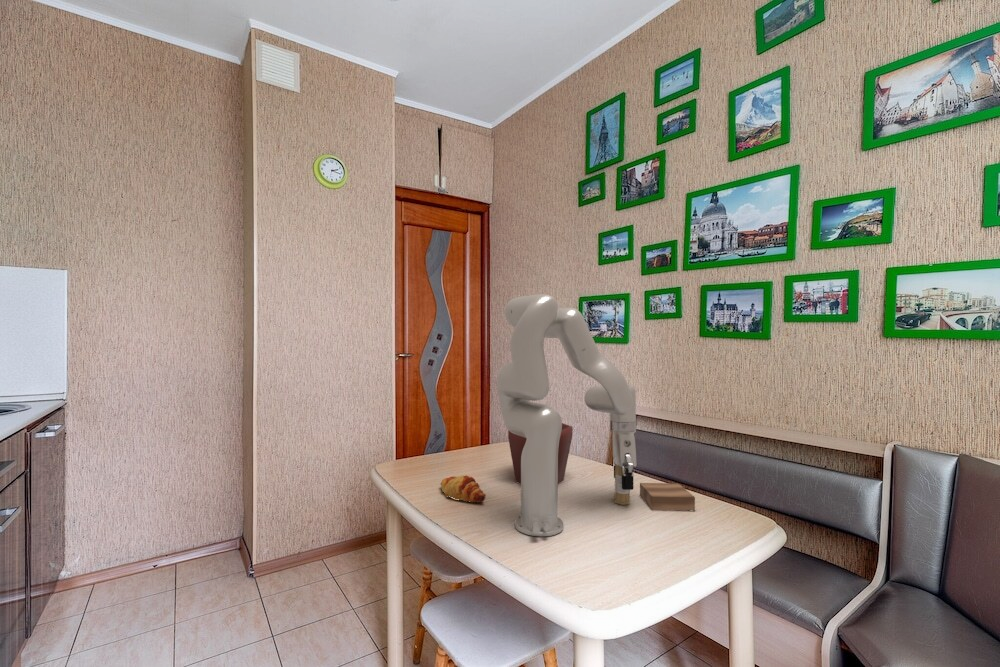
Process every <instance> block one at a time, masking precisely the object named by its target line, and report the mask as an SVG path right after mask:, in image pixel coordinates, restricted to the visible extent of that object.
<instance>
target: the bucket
mask: <svg viewBox="0 0 1000 667" xmlns="http://www.w3.org/2000/svg"><path fill="white" fill-rule="evenodd" d="M573 428H574V427H573V426H572V425H569V424H567V423H563V422H562V430H561V435H560V440H559V447H558V485H560V483H562V482H564V479H565V474H566V469H567V464H568V459H569V455H570V449H571V444H572V439H573V434H574V433H573ZM507 430H508V429H507ZM507 432H508V433H507V434H508V435H507V436H508V437H507V438H508V444H509V449H510V456H511V462H512V468H513V472H514V479H515V483H516V482H519V483H521V455H522V451H523V448H524V446H525V443H526V440H527V438H525V437H522V436H519V435H516V434H513V433H511V432H510V431H509V430H508V431H507ZM519 483H518V484H519Z"/></svg>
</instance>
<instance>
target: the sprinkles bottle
mask: <svg viewBox="0 0 1000 667" xmlns="http://www.w3.org/2000/svg"><path fill="white" fill-rule="evenodd" d="M623 465H627V464H623ZM625 471H626V468H625ZM622 475H623V472H622V467H620V466H619V465H618V463H617V459H616V458H615V478H614V502H615V504H618V505H621V506H622V505H624V506H628V505H630V503H631V501H630V499H631V498H630V497H631V496H630V493H631V492H630V491H631V490H623V489H622Z"/></svg>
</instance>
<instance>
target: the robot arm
mask: <svg viewBox="0 0 1000 667" xmlns="http://www.w3.org/2000/svg"><path fill="white" fill-rule="evenodd" d="M504 316H505V317H504V318H505V320H506V322H507V323H508V324H509V325H511V327H513V328H514V329H513V332H512V335H511V337H510V342H509V343H510V344H509V345H510V346H509V347H510V356H511V362H508V363H506V364H504V365H503V366H501V368H500V370H499V372H498V373H497V377H496V389H497V396H498V400H499V401H498V402H499V406H500V412H501V416H502V421H503V423H504V426H505V428H506V429H507V430H509V431H510V432H511V433H513V434H516V435H519V436H522V437H525V438H527V440H526V443H525V446H524V448H523V451H522V455H521V484H520V515H519V516H517V517H516V518H515V520H514V527H515V529H516V530H517V531H518V532H520V533H522V534H525V535H527V536H532V537H551V536H554V535H558V534H559V533H561V532H562V531H563V530H564V527H565V524H564V521H563V520H562V519H561V517H559V516H558V500H559V499H558V498H559V497H558V495H559V494H558V492H559V491H558V488H559V487H558V486H559V484H558V447H559V440H560V435H561V430H562V423H563V421H562V417H561V415H560V413H559V412H558V410H556V409H555V408H554V407H553V406H550V405H548V404H543V403H538V402H534V401H541V400H543V399H544V398H546V397H547V396H548V394H549V392H550V380H549V379H550V378H549V374H548V367H547V362H546V361H547V360H546V355H545V349H544V348H545V347H544V343H545V338H546V339H558V340H559V342H560V345H561V346H562V348H563V349H564V353H565V354H566V355H567V358H568V360H569V362H570V364H571V366H572V367H573V368H574V369H576V370H578V371H580V373H583V374H585V375H586V376H589V377H591V378H592V379H594V380H595V381H597V383H599V384H600V385H593V386H591V387H589V388H588V389H587V390H586V391H585V393H584V398H583V399H584V400H583V401H584V403H585V405H586V406H587V407H588V408H589V409H591V410H592V411H595V412H599V413H600V412H601V413H606V414H609V432H611V433H612V458H613V479H615V458H616V459H617V463H618V465H619V466H620V467H622V472H623V475H622V489H623V490H630V491H631V490H634V468H636V467H637V450H636V437H635V433H636V432H637V418H636V416H637V409H636V408H637V405H636V402H637V401H636V399H637V397H636V396H637V395H636V389H635V387H634V386H633V385H631V384H628V381H627V380H626V378H625V376H624V374H623V373H622V372H621V370H620V369H618V367H617V366H616V365H614V364H613V363H612V362H611V361H610V359H608V358H607V357H606V356H605V355H603V354H602V353H601V351H600V350H599V348H598V345H597V344H596V342H595V340H594V337H593V335H592V333H591V332H590V329H589V326H588V324H587V322H586V320H585V318H584V315H583V314H582V312H580V311H579V310H578V309H577V308H574V307H559V304H558V302H557V300H556V297H554V296H552V295H549V294H547V293H546V294H543V293H538V294H532V295H525V296H517V297H513V298H512V299H510V300H509V301H508V302H507V304H506V305H505V308H504ZM623 464H627V465H623ZM625 468H626V471H625Z"/></svg>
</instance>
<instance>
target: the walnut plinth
mask: <svg viewBox="0 0 1000 667" xmlns="http://www.w3.org/2000/svg"><path fill="white" fill-rule="evenodd" d="M640 496H641V497H640ZM639 497H640V498H641V499H642V500H643V502H644V503H645V502H646V506H648V507H649V509H650V508H651V509H652V510H695V511H696V499H695V498H696V497H695V495H693V494H692V493H691V492H690V491H688V490H687V489H686V488H684V486H682V485H681V484H680V483H673V482H672V483H671V482H670V483H668V482H667V483H666V482H665V483H663V482H639ZM651 509H650V510H651ZM652 510H651V511H652Z"/></svg>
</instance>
